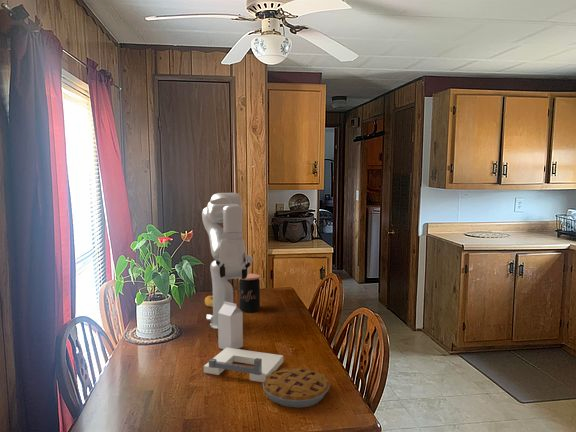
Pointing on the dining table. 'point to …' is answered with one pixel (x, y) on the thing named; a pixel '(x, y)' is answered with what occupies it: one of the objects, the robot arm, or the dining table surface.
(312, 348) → the dining table surface
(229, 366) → the hook rail
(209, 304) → the bagel
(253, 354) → the notched board
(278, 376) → the pie
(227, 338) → the milk carton
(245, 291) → the coffee jar
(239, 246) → the robot arm
